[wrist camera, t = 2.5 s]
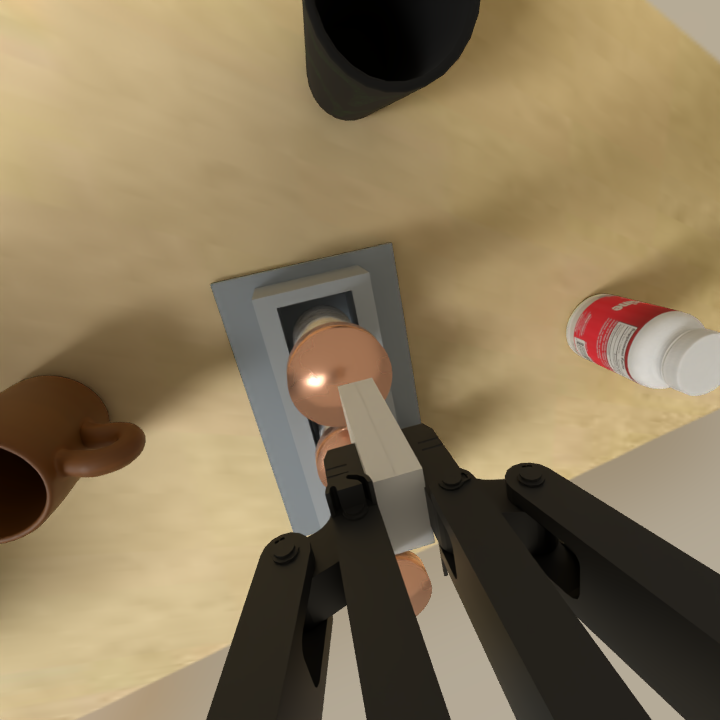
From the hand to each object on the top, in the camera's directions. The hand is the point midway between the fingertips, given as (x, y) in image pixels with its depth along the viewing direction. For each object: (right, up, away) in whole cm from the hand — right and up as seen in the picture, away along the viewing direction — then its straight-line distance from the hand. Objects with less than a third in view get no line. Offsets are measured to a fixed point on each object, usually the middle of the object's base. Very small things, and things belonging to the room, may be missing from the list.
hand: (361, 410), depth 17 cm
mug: (-21, -2, +15) cm, 26 cm away
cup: (-1, +22, +11) cm, 24 cm away
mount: (-2, -2, +19) cm, 19 cm away
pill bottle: (+22, +6, +21) cm, 31 cm away
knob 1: (-3, +4, +11) cm, 12 cm away
